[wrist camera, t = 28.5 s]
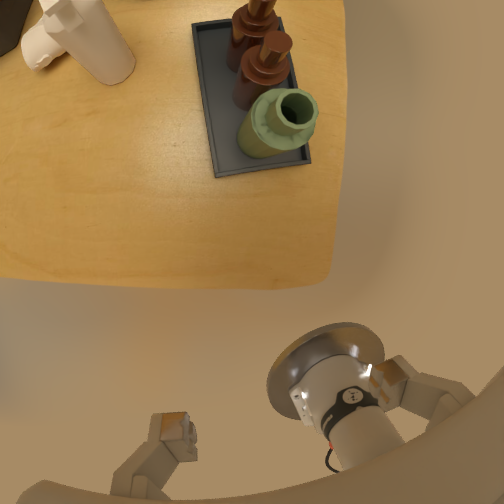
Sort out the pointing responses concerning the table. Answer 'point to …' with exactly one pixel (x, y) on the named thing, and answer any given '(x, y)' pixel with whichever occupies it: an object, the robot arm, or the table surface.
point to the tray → (231, 104)
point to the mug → (39, 47)
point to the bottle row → (256, 52)
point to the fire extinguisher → (89, 37)
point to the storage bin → (11, 22)
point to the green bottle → (277, 123)
